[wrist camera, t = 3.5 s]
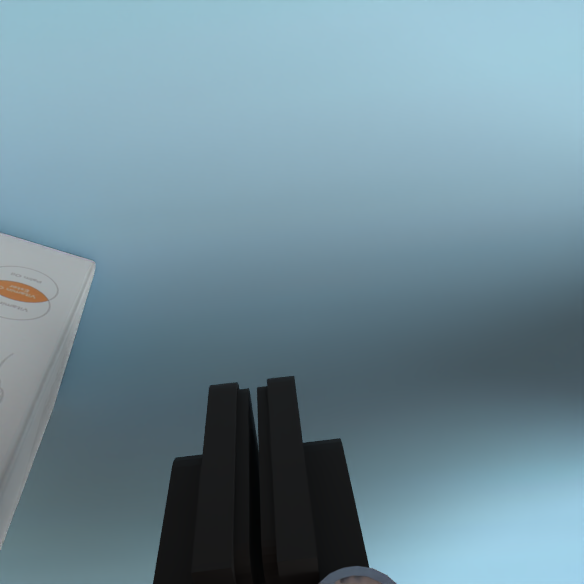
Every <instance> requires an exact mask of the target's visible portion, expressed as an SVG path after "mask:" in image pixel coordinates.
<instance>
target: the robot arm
mask: <svg viewBox="0 0 584 584" xmlns="http://www.w3.org/2000/svg"><path fill="white" fill-rule="evenodd" d="M257 402H258V439H259V450H258V443H257V436H256V430H255V423H254V417H253V410H252V403H251V397H250V391H249V388H248V389H239V385H238V383H237V382H236V383H227V384H218V385H210V387H209V396H208V406H207V416H206V426H205V436H204V446H203V455H195V456H186V457H177V458H175V460H174V462H173V466H172V471H171V477H170V483H169V490H168V496H167V502H166V508H165V514H164V520H163V526H162V532H161V538H160V545H159V551H158V557H157V563H156V569H155V575H154V581H153V584H396V583H395V582H394V581H393V580H392V579H391V578H390V577H388V576H387V575H385V574H383V573H381V572H379V571H377V570H375V569H373V568H369V564H368V559H367V555H366V550H365V546H364V541H363V537H362V532H361V528H360V523H359V518H358V514H357V509H356V505H355V500H354V496H353V491H352V487H351V482H350V477H349V473H348V468H347V464H346V459H345V455H344V450H343V446H342V442H341V439H332V440H323V441H315V442H306V443H303V442H302V434H301V426H300V418H299V411H298V403H297V395H296V387H295V380H294V376H289V377H280V378H271V379H267V386H266V387H257Z"/></svg>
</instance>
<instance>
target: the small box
mask: <svg viewBox="0 0 584 584" xmlns="http://www.w3.org/2000/svg"><path fill="white" fill-rule="evenodd" d="M94 273H95V262H94V261H92V260H89V259H86V258H82V257H79V256H76V255H72V254H69V253H66V252H63V251H59V250H56V249H53V248H50V247H46V246H43V245H40V244H37V243H33V242H30V241H27V240H24V239H20V238H17V237H14V236H10V235H7V234H3V233H0V550H1V548H2V545H3V542H4V540H5V537H6V534H7V531H8V529H9V526H10V523H11V520H12V518H13V515H14V512H15V510H16V507H17V505H18V502H19V499H20V497H21V494H22V492H23V489H24V486H25V484H26V481H27V478H28V475H29V473H30V470H31V467H32V464H33V461H34V459H35V456H36V453H37V451H38V448H39V445H40V443H41V440H42V437H43V435H44V432H45V429H46V427H47V424H48V421H49V418H50V416H51V413H52V410H53V407H54V405H55V401H56V398H57V395H58V391H59V388H60V385H61V381H62V378H63V375H64V372H65V368H66V365H67V362H68V358H69V355H70V352H71V349H72V345H73V342H74V339H75V336H76V332H77V329H78V326H79V322H80V319H81V316H82V313H83V309H84V306H85V303H86V299H87V296H88V293H89V289H90V286H91V283H92V279H93V276H94Z"/></svg>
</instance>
